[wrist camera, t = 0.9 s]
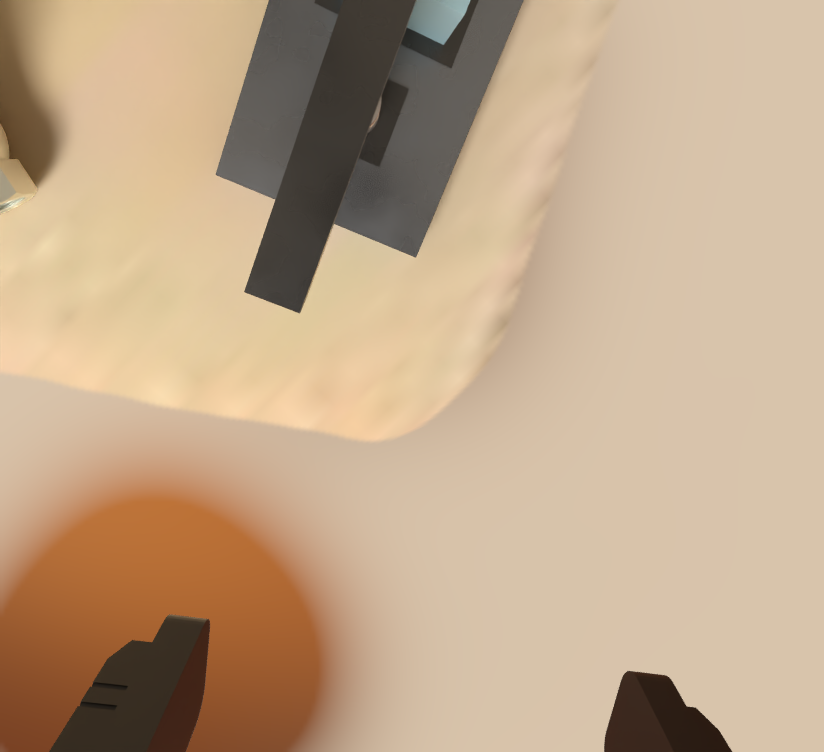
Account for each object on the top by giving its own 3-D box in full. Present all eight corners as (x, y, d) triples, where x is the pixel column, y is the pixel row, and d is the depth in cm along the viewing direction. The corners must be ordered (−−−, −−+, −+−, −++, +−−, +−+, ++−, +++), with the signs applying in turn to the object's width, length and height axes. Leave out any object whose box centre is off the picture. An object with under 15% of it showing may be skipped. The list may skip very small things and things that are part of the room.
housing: (225, 172, 31) (215, 174, 29) (358, -257, 26) (357, -290, 24) (413, 251, 33) (416, 257, 31) (574, -136, 28) (589, -157, 26)
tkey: (287, 239, 30) (241, 290, 20) (386, -42, 27) (394, -165, 16) (327, 255, 31) (302, 314, 20) (430, -20, 27) (466, -126, 16)
